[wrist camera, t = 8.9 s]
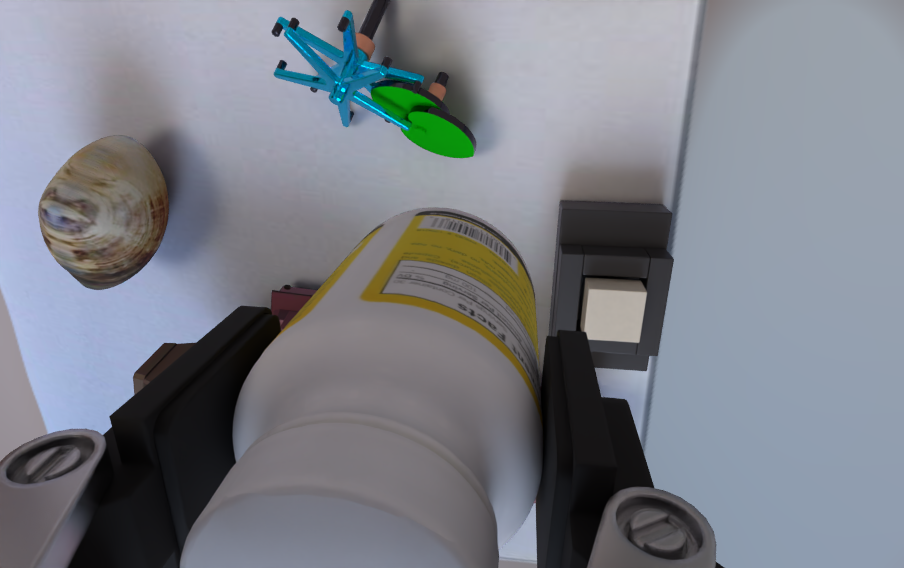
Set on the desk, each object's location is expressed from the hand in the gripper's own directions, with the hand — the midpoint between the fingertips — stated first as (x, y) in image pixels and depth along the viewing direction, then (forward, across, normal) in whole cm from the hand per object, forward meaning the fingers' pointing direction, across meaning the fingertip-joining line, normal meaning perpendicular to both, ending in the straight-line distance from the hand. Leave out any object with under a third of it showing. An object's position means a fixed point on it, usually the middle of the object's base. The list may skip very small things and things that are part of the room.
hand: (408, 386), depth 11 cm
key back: (+19, -8, +6) cm, 22 cm away
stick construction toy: (+23, +5, -6) cm, 25 cm away
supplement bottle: (+5, 0, 0) cm, 5 cm away
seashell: (+23, +22, +3) cm, 32 cm away
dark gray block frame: (+23, -8, +6) cm, 25 cm away
